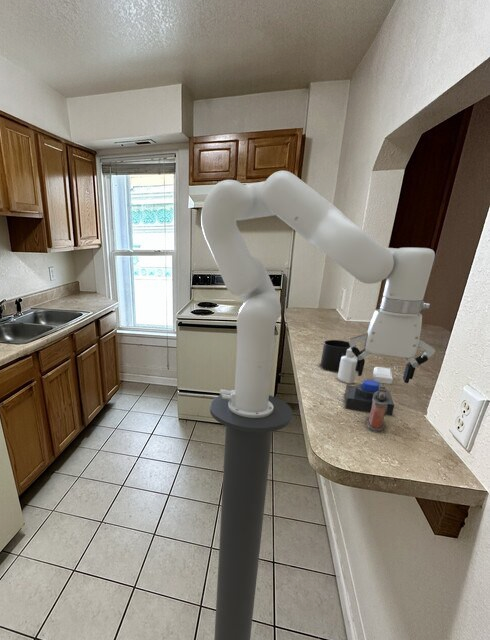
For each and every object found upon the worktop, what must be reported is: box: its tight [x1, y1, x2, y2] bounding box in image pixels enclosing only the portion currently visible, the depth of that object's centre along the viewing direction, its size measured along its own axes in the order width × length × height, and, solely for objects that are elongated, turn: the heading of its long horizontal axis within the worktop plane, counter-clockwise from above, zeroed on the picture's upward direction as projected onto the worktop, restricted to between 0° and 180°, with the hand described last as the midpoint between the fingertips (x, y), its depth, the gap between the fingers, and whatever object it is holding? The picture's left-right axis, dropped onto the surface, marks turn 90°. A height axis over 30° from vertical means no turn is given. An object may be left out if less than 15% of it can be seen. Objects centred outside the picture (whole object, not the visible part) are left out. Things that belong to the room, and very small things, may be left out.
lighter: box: [366, 383, 389, 433], centre depth 87 cm, size 8×3×10 cm, turn 151°
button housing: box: [344, 383, 395, 416], centre depth 98 cm, size 11×10×5 cm
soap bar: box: [372, 366, 394, 385], centre depth 117 cm, size 5×9×3 cm, turn 152°
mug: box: [320, 339, 350, 373], centre depth 124 cm, size 9×12×9 cm
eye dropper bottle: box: [337, 347, 358, 385], centre depth 113 cm, size 4×6×12 cm
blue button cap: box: [361, 379, 381, 392], centre depth 97 cm, size 4×4×2 cm
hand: (381, 377), depth 84 cm, fingers open, 9 cm apart
